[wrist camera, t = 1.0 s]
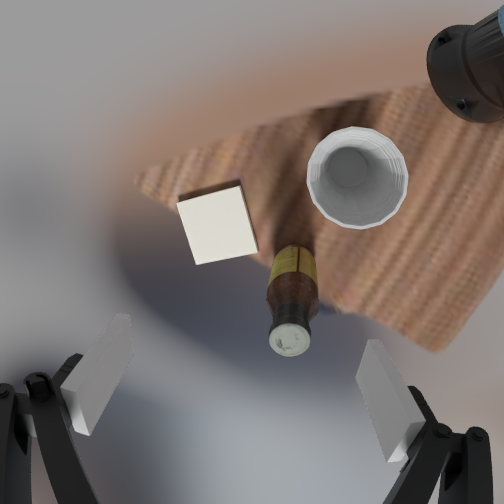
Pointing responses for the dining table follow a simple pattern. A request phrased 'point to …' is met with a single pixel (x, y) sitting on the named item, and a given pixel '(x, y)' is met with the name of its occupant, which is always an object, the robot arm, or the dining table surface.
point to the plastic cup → (357, 177)
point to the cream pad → (218, 225)
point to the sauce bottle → (292, 299)
